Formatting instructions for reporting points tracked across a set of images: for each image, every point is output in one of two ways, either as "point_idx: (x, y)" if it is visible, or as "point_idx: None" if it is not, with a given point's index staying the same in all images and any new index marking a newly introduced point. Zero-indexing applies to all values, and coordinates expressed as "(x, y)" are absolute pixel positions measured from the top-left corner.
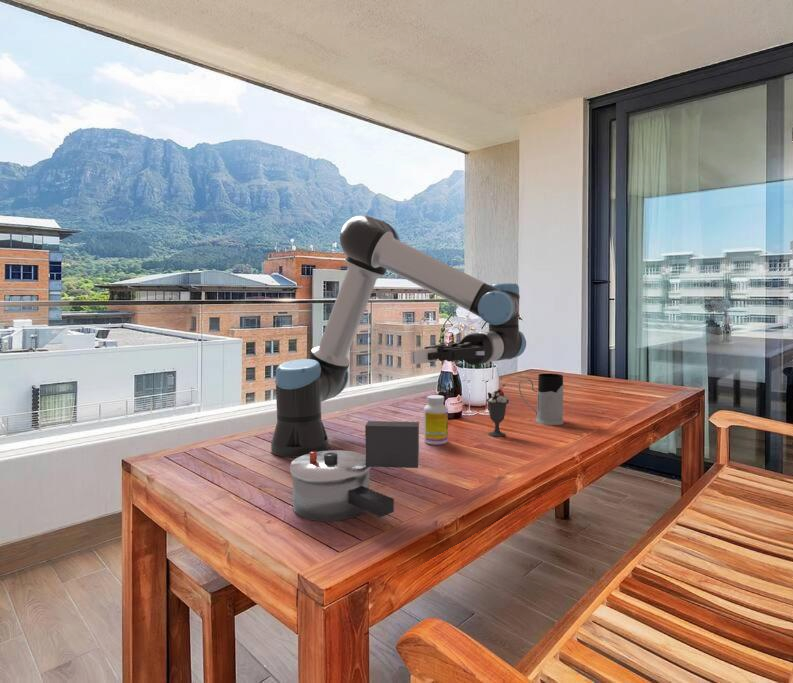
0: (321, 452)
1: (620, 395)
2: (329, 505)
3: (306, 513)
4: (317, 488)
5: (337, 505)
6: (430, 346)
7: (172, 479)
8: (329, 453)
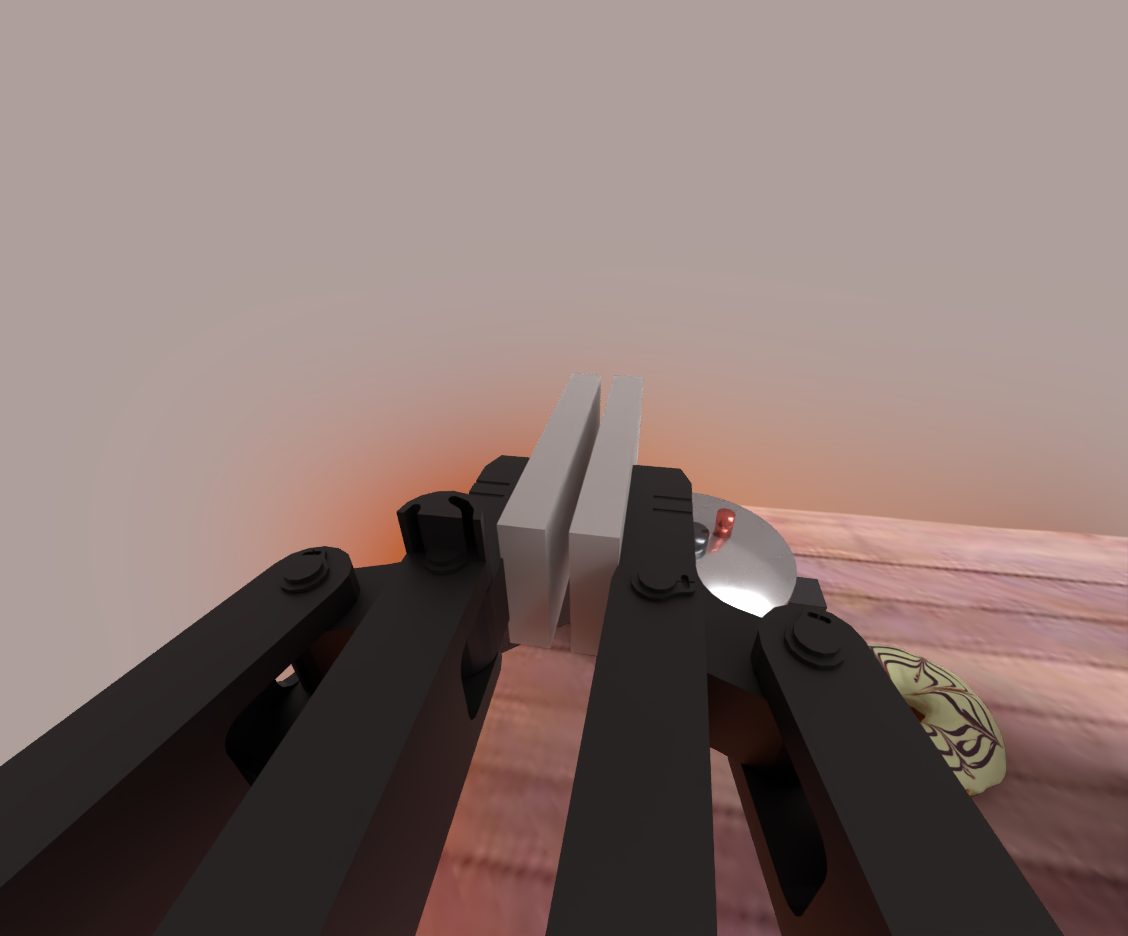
0: (783, 580)
1: None
2: None
3: None
4: None
5: None
6: (977, 866)
7: (1035, 543)
8: (702, 534)
